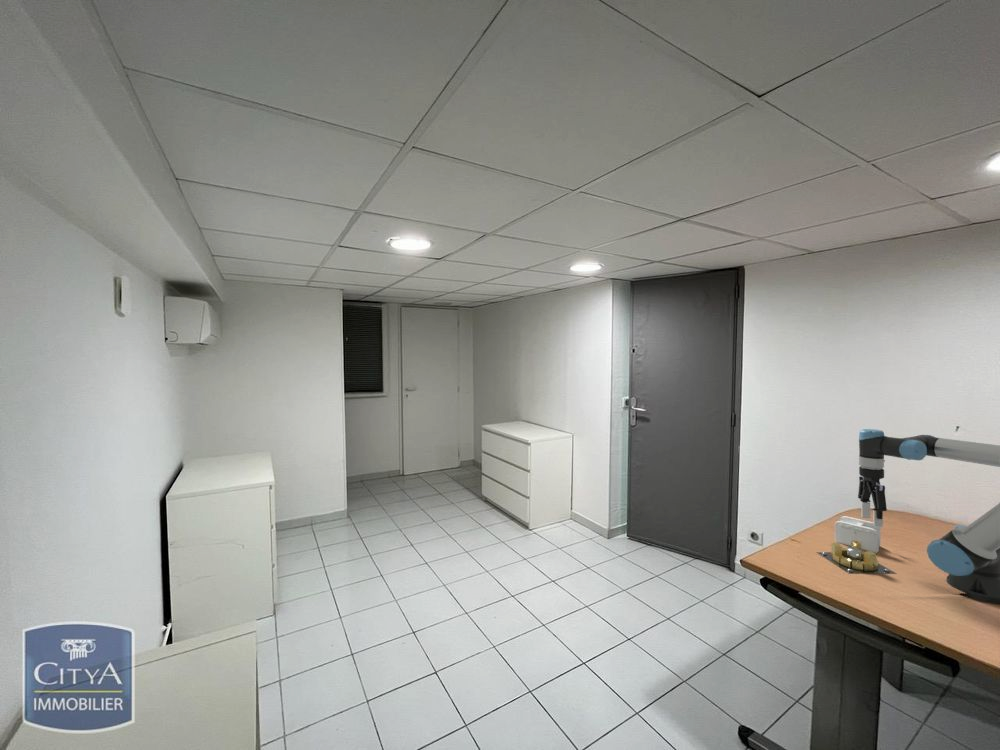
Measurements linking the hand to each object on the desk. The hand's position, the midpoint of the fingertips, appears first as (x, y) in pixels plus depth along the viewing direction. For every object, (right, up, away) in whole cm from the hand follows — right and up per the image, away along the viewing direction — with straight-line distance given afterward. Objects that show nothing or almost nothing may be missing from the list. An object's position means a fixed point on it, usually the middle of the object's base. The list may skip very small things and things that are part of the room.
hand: (871, 521), depth 165 cm
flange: (-5, -19, +2) cm, 20 cm away
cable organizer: (+11, -19, +18) cm, 29 cm away
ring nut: (-5, -18, +2) cm, 19 cm away
